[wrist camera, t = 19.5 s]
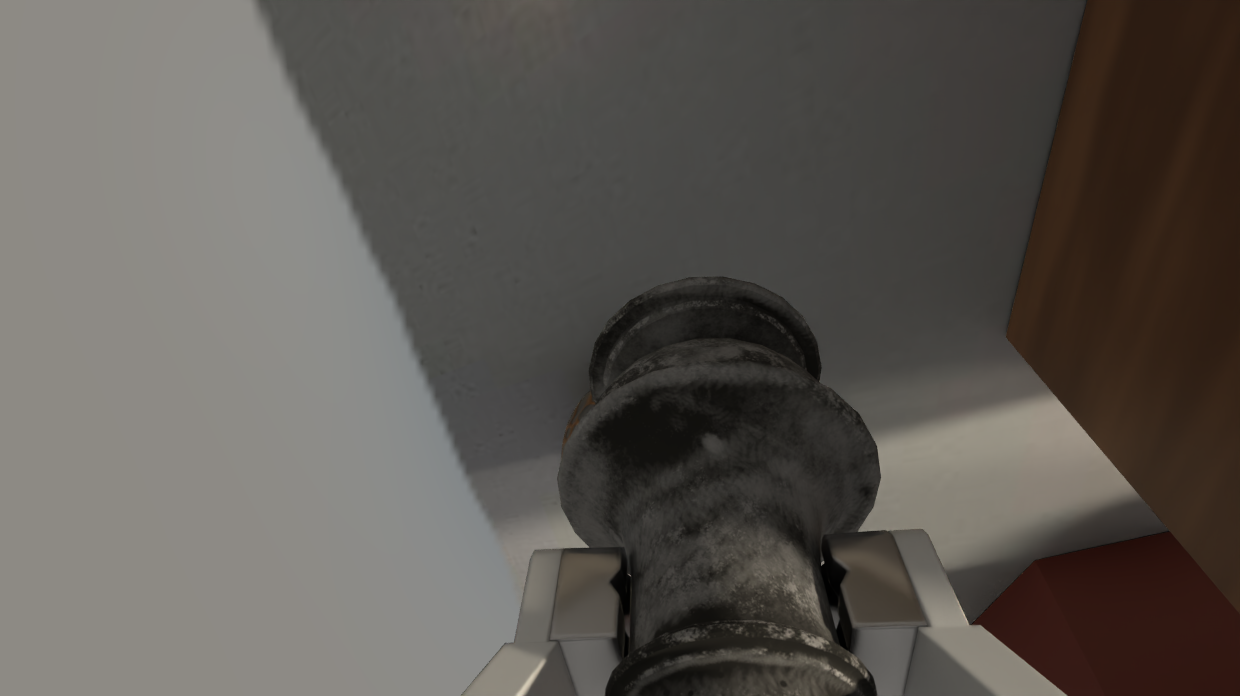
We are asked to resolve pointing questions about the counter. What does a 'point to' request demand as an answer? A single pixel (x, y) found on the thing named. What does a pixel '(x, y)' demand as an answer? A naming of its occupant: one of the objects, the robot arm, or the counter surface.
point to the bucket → (1122, 622)
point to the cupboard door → (1148, 263)
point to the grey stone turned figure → (720, 492)
